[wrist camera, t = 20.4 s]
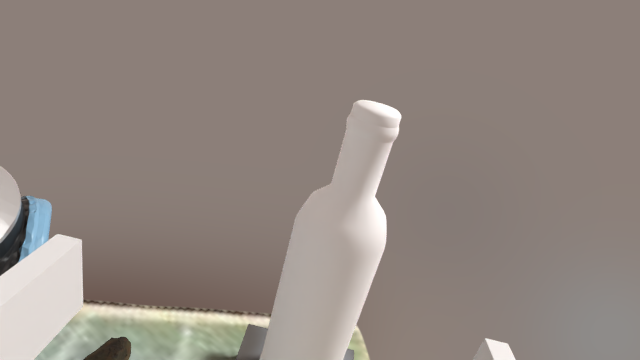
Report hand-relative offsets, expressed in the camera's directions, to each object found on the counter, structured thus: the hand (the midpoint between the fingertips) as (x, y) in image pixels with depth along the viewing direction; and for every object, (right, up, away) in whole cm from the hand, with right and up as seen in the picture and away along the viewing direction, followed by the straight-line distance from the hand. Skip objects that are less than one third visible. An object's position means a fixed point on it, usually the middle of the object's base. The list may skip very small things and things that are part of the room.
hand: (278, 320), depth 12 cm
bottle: (-2, -17, +27) cm, 32 cm away
